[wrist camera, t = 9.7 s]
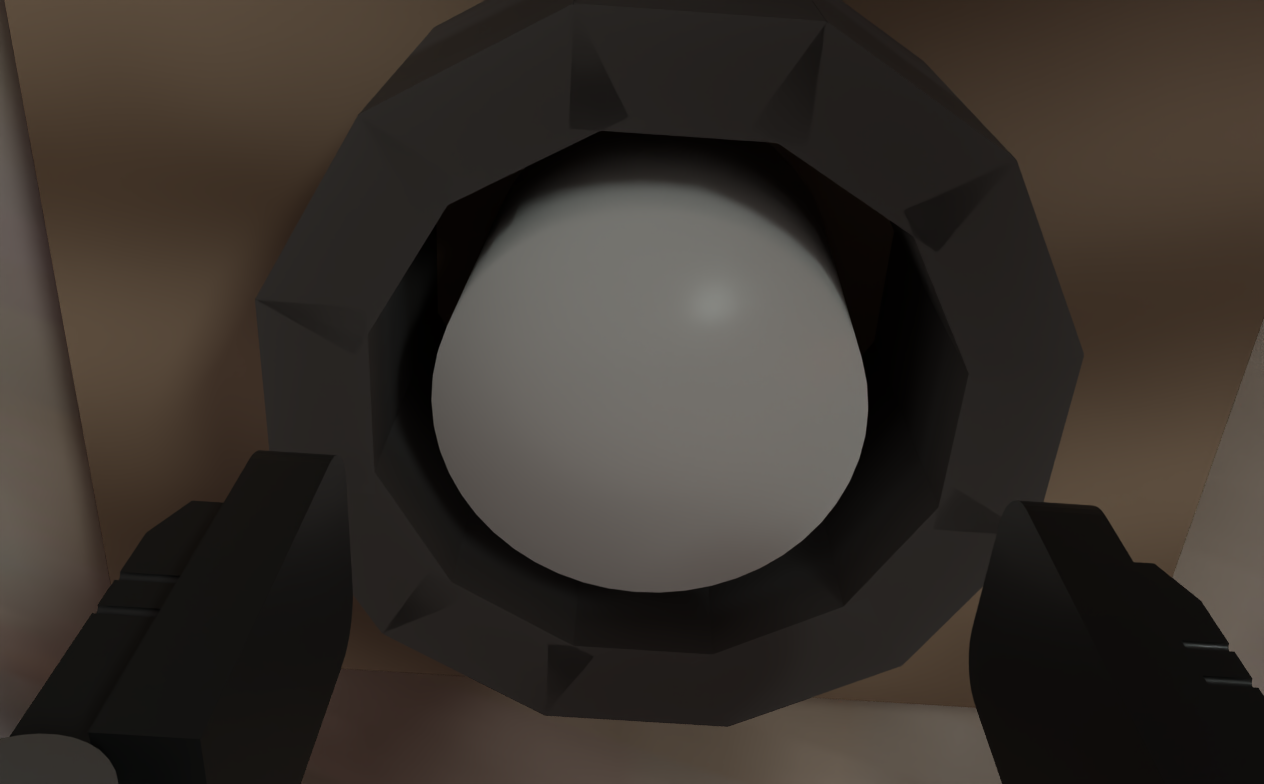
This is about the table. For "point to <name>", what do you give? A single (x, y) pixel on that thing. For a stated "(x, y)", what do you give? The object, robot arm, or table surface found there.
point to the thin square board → (678, 106)
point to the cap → (652, 364)
